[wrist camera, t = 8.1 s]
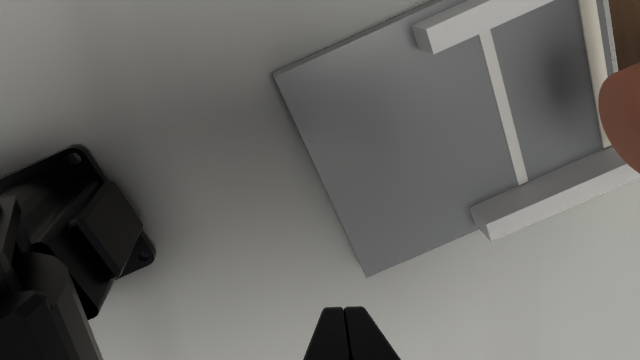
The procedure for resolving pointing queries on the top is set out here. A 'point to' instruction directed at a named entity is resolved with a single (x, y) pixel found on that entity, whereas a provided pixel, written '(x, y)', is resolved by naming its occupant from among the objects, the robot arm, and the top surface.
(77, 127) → the top surface
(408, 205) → the press base
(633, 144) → the press plate
